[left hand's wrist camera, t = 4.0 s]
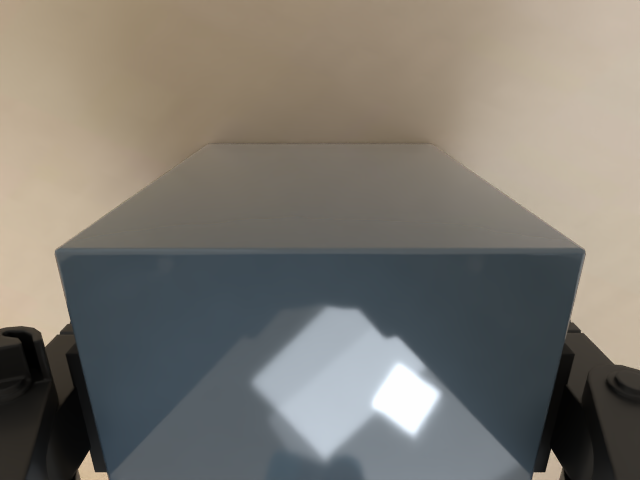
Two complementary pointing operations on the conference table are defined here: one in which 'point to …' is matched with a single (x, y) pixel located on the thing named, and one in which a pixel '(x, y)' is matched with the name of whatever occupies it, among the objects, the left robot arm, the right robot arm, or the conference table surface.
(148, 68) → the conference table surface
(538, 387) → the grey rectangular block
